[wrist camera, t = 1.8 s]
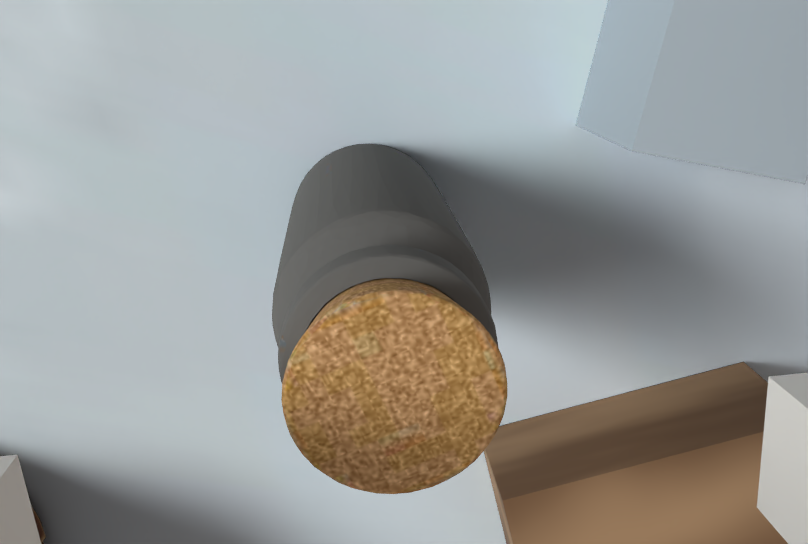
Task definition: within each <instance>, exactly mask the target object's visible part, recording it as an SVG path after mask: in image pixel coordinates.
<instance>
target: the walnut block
mask: <svg viewBox="0 0 808 544" xmlns="http://www.w3.org/2000/svg"><path fill="white" fill-rule="evenodd" d="M767 389H768V382H766V381H765V380H764V379H763V378H762V377H761V376H759V375H758V374H757V373H756V372H755V371H754V370H752V369H751V368H750V367H749V366H748V365H747V364H745V363H744V362H741V363H738V364H734V365H730V366H726V367H722V368H719V369H715V370H711V371H707V372H703V373H700V374H696V375H692V376H688V377H684V378H681V379H677V380H673V381H669V382H666V383H662V384H658V385H654V386H650V387H647V388H643V389H639V390H635V391H631V392H628V393H624V394H620V395H616V396H612V397H609V398H605V399H601V400H597V401H594V402H590V403H586V404H582V405H578V406H575V407H571V408H567V409H563V410H559V411H556V412H552V413H548V414H544V415H540V416H537V417H533V418H529V419H525V420H522V421H518V422H514V423H510V424H506V425H503V426H499V428H498V430H497V432H496V434H495V435H494V437H493V438H492V440H491V442H490V443H489V445H488V446H487V447H486V449H485V450H484V454H485V458H486V462H487V466H488V470H489V474H490V478H491V482H492V486H493V490H494V494H495V498H496V502H497V507H498V511H499V515H500V519H501V523H502V527H503V531H504V535H505V539H506V543H507V544H788V543H787V542H786V541H785V539H784V538H783V537H782V536H781V535H780V534H779V533H778V531H777V530H776V529H775V528H774V527H773V526H772V524H771V523H770V522H769V521H768V520H767V519H766V517H765V516H764V515H763V514H762V513H761V512H760V511H759V509H758V508H757V499H758V488H759V477H760V466H761V455H762V444H763V433H764V422H765V411H766V400H767Z"/></svg>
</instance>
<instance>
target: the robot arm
mask: <svg viewBox="0 0 808 544" xmlns="http://www.w3.org/2000/svg"><path fill="white" fill-rule="evenodd" d="M757 508H758V509H759V511H760V512H761V513H762V514H763V515H764V516H765V517H766V519H767V520H768V521H769V522H770V523H771V524H772V526H773V527H774V528H775V529H776V530H777V531H778V533H779V534H780V535H781V536H782V537H783V538H784V539H785V541H786V542H787V543H788V544H808V373H798V374H789V375H779V376H769V378H768V389H767V400H766V411H765V422H764V433H763V444H762V455H761V466H760V477H759V488H758V499H757ZM0 544H41V541H40V537H39V533H38V530H37V526H36V522H35V518H34V514H33V511H32V507H31V503H30V499H29V496H28V492H27V488H26V484H25V481H24V477H23V473H22V469H21V466H20V462H19V458H18V455H8V456H0Z"/></svg>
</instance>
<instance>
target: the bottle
mask: <svg viewBox="0 0 808 544" xmlns="http://www.w3.org/2000/svg"><path fill="white" fill-rule="evenodd" d="M272 321H273V329H274V334H275V338H276V342H277V345H278V348H279V349H278V363H279V372H280V377H281V382H282V406H283V413H284V416H285V420H286V424H287V427H288V430H289V433H290V435H291V437H292V439H293V440H294V442H295V444H296V446H297V447H298V448H299V450H300V451H301V453H302V454H303V455H304V456H305V457H306V458H307V459H308V460H309V461H310V463H311V464H312V465H313V466H314V467H316V468H317V469H319V470H320V471H321V472H323V473H324V474H326V475H327V476H329V477H331V478H332V479H334V480H335V481H337V482H339V483H341V484H344V485H346V486H349V487H351V488H355V489H359V490H363V491H368V492H373V493H383V494H398V493H409V492H414V491H418V490H421V489H425V488H429V487H433V486H435V485H437V484H439V483H441V482H444V481H446V480H448V479H450V478H451V477H453V476H455V475H457V474H459V473H460V472H462V471H463V470H464V469H465V468H467V467H468V466H469V465H470V464H472V463H473V462H474V461H475V460H476V459H477V458H478V457H479V456H480V454H481V453H482V452H483V451H484V450H485V449H486V447H487V446H488V445H489V443H490V442H491V440H492V438H493V437H494V435H495V434H496V432H497V430H498V428H499V425H500V423H501V420H502V418H503V415H504V410H505V405H506V400H507V378H506V370H505V365H504V362H503V359H502V356H501V353H500V351H499V349H498V342H497V336H496V330H495V325H494V322H493V319H492V317H491V301H490V293H489V288H488V284H487V281H486V278H485V275H484V272H483V269H482V267H481V265H480V263H479V261H478V259H477V257H476V255H475V253H474V251H473V249H472V247H471V245H470V244H469V242H468V240H467V238H466V237H465V235H464V233H463V231H462V230H461V228H460V226H459V224H458V222H457V221H456V219H455V217H454V216H453V214H452V212H451V211H450V209H449V207H448V205H447V204H446V202H445V200H444V199H443V197H442V195H441V194H440V192H439V190H438V189H437V187H436V185H435V184H434V182H433V181H432V179H431V178H430V176H429V175H428V174H427V173H426V171H425V170H424V169H423V168H422V167H421V166H420V165H419V164H418V163H417V162H416V161H415V160H413V159H412V158H411V157H409V156H408V155H406V154H404V153H402V152H400V151H398V150H396V149H394V148H391V147H388V146H383V145H377V144H357V145H352V146H347V147H344V148H341V149H339V150H336V151H334V152H332V153H331V154H329V155H327V156H325V157H324V158H323V159H321V160H320V161H319V162H318V163H317V164H316V165H314V166H313V168H312V169H311V170H310V171H309V172H308V173H307V175H306V176H305V178H304V180H303V181H302V183H301V184H300V187H299V189H298V192H297V194H296V197H295V200H294V203H293V207H292V211H291V215H290V219H289V224H288V228H287V233H286V237H285V241H284V246H283V250H282V255H281V259H280V264H279V269H278V274H277V279H276V284H275V288H274V293H273V309H272Z"/></svg>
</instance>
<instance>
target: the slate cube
mask: <svg viewBox="0 0 808 544" xmlns="http://www.w3.org/2000/svg"><path fill="white" fill-rule="evenodd" d="M576 126H578V127H580V128H582V129H585V130H587V131H589V132H591V133H593V134H595V135H598V136H600V137H602V138H604V139H606V140H608V141H610V142H613V143H615V144H617V145H619V146H621V147H623V148H625V149H628V150H630V151H632V152H638V153H643V154H648V155H653V156H659V157H664V158H669V159H675V160H680V161H685V162H691V163H696V164H701V165H706V166H712V167H717V168H722V169H728V170H733V171H738V172H744V173H749V174H754V175H759V176H765V177H770V178H775V179H781V180H786V181H791V182H797V183H802V184H805V183H806V180H807V177H808V0H608V3H607V7H606V10H605V14H604V18H603V22H602V26H601V30H600V34H599V37H598V41H597V45H596V49H595V53H594V57H593V60H592V64H591V68H590V72H589V76H588V80H587V83H586V87H585V91H584V95H583V99H582V103H581V107H580V110H579V114H578V118H577V122H576Z"/></svg>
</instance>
